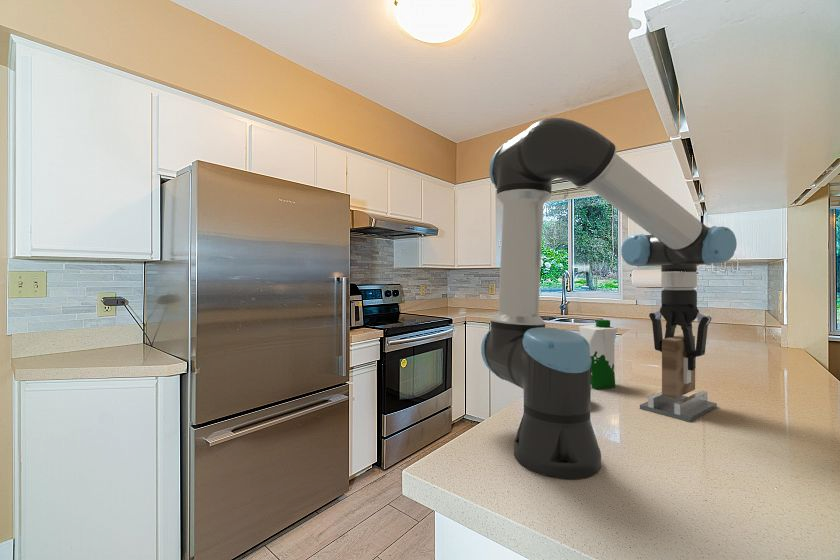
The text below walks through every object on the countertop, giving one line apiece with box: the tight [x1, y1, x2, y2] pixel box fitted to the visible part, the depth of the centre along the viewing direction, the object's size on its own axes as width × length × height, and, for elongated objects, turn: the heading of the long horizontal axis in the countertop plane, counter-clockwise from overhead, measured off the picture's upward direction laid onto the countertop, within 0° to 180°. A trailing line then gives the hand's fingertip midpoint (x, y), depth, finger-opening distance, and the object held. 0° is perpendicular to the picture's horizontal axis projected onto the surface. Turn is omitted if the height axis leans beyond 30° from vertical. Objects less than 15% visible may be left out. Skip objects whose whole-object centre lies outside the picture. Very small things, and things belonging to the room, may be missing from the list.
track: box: [639, 390, 718, 423], centre depth 97 cm, size 17×11×4 cm, turn 125°
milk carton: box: [578, 319, 618, 390], centre depth 117 cm, size 9×9×20 cm
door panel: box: [661, 334, 696, 399], centre depth 97 cm, size 12×3×14 cm, turn 125°
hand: (678, 380), depth 97 cm, fingers closed on door panel, 3 cm apart
